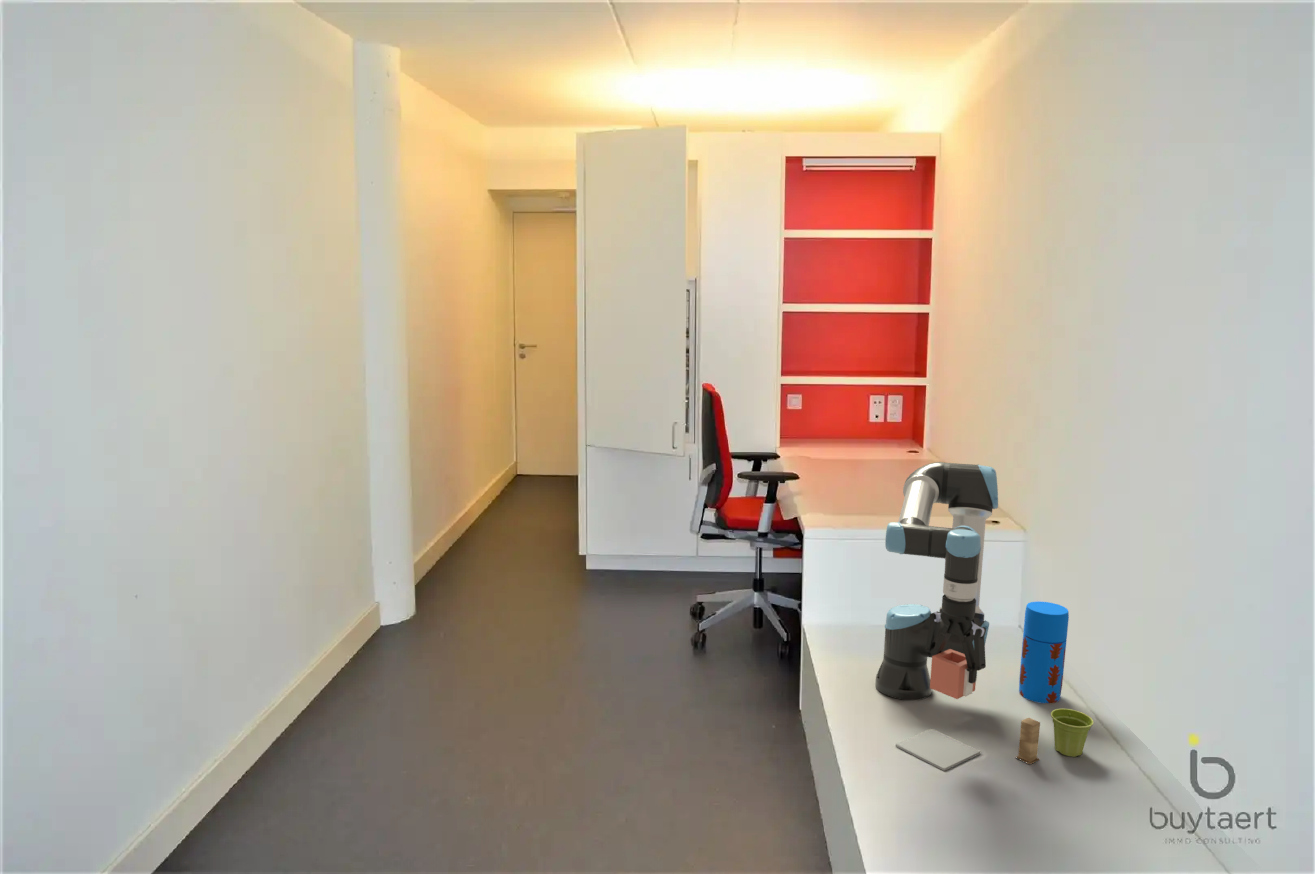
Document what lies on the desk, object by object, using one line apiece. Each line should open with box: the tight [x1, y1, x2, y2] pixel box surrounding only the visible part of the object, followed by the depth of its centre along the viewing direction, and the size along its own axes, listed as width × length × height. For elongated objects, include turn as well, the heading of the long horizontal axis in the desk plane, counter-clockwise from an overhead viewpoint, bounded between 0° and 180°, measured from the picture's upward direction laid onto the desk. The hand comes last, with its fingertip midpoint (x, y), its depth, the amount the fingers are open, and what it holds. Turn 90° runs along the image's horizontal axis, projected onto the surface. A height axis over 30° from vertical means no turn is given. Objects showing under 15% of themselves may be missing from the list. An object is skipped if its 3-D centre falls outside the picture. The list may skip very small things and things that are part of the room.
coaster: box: [895, 728, 981, 772], centre depth 222 cm, size 14×14×1 cm
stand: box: [1015, 717, 1041, 765], centre depth 218 cm, size 4×4×10 cm
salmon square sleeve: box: [930, 649, 977, 700], centre depth 219 cm, size 7×7×8 cm
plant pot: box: [1050, 708, 1094, 758], centre depth 222 cm, size 9×9×9 cm
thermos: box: [1018, 600, 1070, 704], centre depth 251 cm, size 11×11×25 cm
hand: (952, 688), depth 219 cm, fingers closed on salmon square sleeve, 7 cm apart
